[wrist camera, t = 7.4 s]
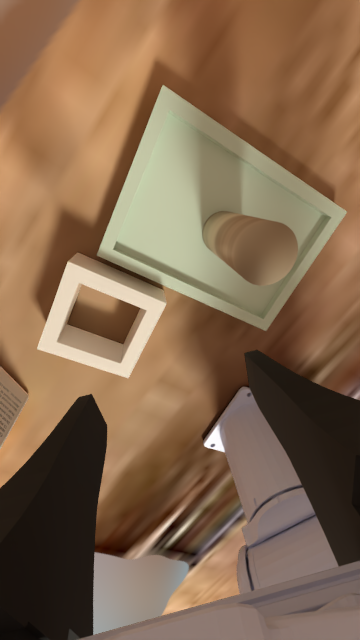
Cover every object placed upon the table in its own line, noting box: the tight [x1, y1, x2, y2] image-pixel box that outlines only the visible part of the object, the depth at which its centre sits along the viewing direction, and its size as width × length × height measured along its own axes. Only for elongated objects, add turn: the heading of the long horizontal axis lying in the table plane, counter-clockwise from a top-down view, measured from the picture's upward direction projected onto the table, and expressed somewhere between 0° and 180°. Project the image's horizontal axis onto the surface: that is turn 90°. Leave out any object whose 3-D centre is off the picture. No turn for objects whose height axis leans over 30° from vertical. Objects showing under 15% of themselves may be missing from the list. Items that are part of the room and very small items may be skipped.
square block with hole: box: [37, 253, 167, 378], centre depth 20 cm, size 7×7×3 cm
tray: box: [97, 85, 347, 331], centre depth 19 cm, size 14×10×1 cm
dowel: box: [202, 211, 298, 286], centre depth 15 cm, size 3×3×8 cm
